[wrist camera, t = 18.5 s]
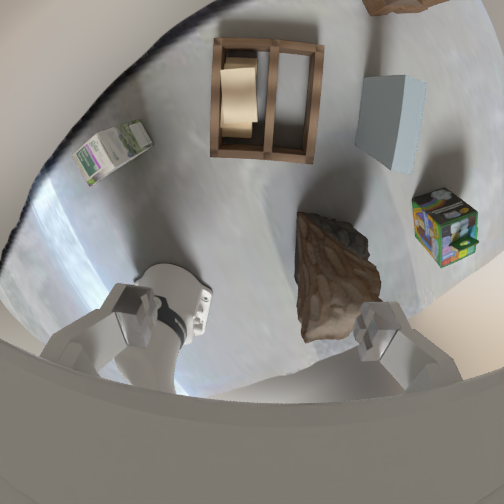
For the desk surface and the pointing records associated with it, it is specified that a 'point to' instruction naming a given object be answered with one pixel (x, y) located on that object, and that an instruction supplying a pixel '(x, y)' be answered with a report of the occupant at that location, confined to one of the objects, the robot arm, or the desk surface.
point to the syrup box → (111, 150)
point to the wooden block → (398, 6)
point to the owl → (331, 277)
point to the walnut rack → (312, 102)
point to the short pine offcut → (239, 95)
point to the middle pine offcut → (231, 125)
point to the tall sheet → (391, 120)
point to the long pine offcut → (248, 132)
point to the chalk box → (445, 226)
